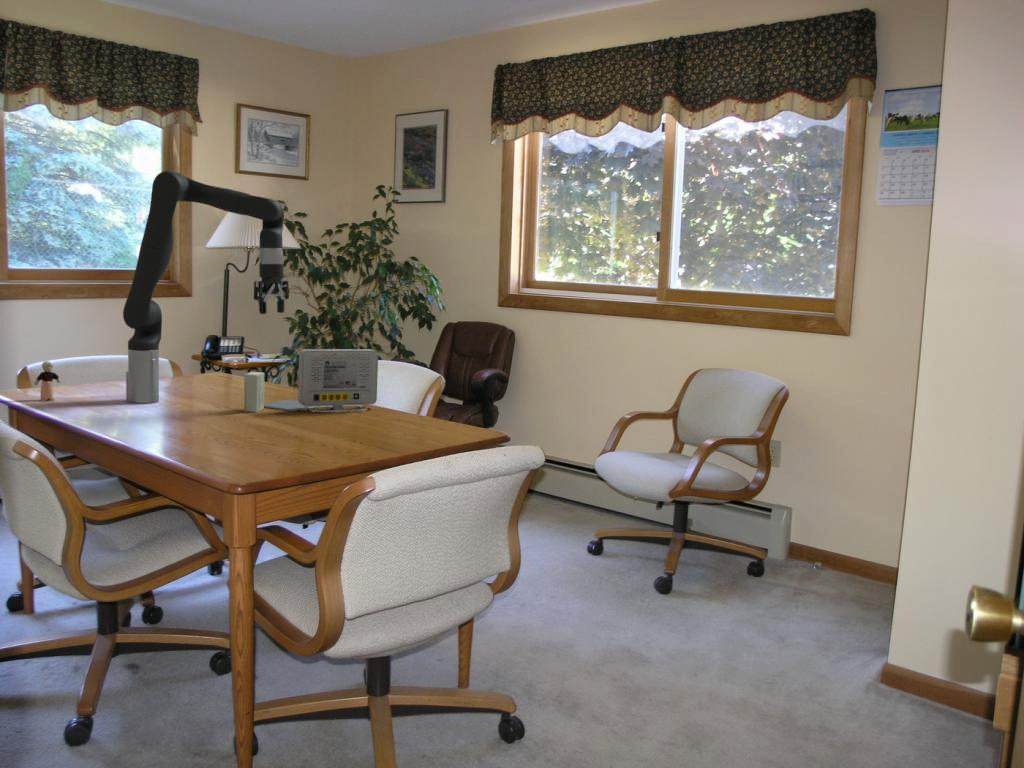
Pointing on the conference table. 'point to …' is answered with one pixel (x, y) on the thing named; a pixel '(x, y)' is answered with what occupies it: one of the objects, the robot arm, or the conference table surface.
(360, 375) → the network device
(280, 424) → the conference table surface
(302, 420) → the conference table surface
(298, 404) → the slate pad
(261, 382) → the skincare box
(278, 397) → the conference table surface
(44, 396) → the grandmother figurine
